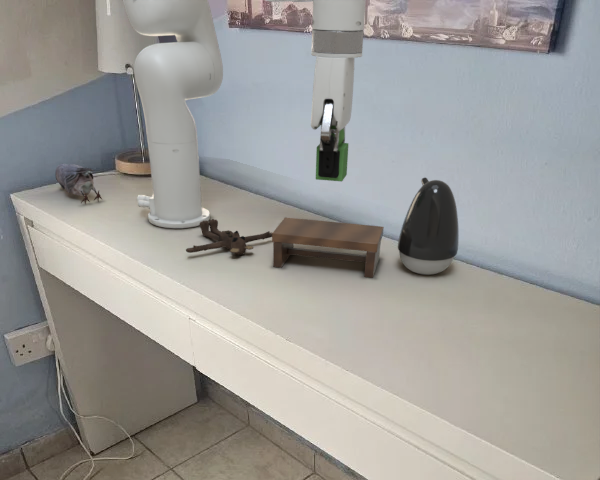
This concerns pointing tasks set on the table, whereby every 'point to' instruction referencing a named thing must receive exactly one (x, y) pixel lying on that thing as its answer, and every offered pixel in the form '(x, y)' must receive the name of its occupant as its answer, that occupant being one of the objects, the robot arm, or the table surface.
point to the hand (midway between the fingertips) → (331, 171)
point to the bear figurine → (225, 239)
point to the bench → (327, 241)
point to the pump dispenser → (430, 229)
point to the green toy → (342, 160)
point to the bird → (76, 180)
